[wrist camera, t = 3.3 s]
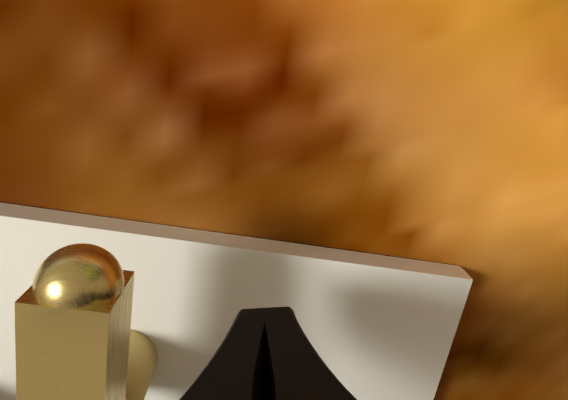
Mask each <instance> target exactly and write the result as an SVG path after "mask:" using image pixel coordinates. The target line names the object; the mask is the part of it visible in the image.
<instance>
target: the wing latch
mask: <svg viewBox="0 0 568 400" xmlns="http://www.w3.org/2000/svg"><path fill="white" fill-rule="evenodd" d="M134 273H135V271H128V270H123V269H122V267H121V265H120V263H119V262H118V260H117V259H116V258H115V257H114V256H113V255H112V254H111V253H110V252H109V251H107V250H106V249H104V248H102V247H99V246H97V245H93V244H85V243H78V244H72V245H68V246H65V247H62V248H60V249H58V250H56V251H55V252H53V253H52V254H50V255H49V256H48V257H47V258H46V259H45V260H44V261H43V262H42V263H41V265H40V266H39V268H38V270H37V272H36V274H35V277H34V281H33V285H32V286H30V287H29V288H28V289H27V290H26V291H25V292H24V293H23V294H22V295H21V296H20V297H19V298H18V299H17V300H16V301H15V353H16V400H128V399H127V398H126V384H127V370H128V357H129V343H130V329H131V315H132V301H133V287H134Z"/></svg>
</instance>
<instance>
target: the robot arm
mask: <svg viewBox="0 0 568 400" xmlns="http://www.w3.org/2000/svg"><path fill="white" fill-rule="evenodd" d="M179 400H357V399H356V398H355V397H354V396H353V395H352V394H351V393H350V392H349V391H348V390H347V389H346V388H345V387H344V386H343V384H342V383H341V382H340V381H339V380H338V379H337V378H336V376H335V375H334V374H333V373H332V372H331V370H330V369H329V368H328V367H327V365H326V364H325V363H324V361H323V360H322V359H321V357H320V356H319V355H318V353H317V352H316V350H315V349H314V347H313V346H312V345H311V343H310V342H309V340H308V338H307V337H306V335H305V334H304V332H303V330H302V328H301V327H300V325H299V323H298V321H297V319H296V316H295V314H294V311H293V310H292V309H291V308H290V307H289V306H288V307H269V308H251V309H241V310H240V311H239V312H238V314H237V316H236V318H235V320H234V322H233V324H232V326H231V328H230V330H229V332H228V333H227V335H226V337H225V338H224V340H223V342H222V343H221V345H220V346H219V348H218V349H217V351H216V353H215V354H214V356H213V357H212V359H211V360H210V361H209V363H208V364H207V366H206V367H205V368H204V370H203V371H202V372H201V374H200V375H199V376H198V378H197V379H196V380H195V382H194V383H193V384H192V385H191V386H190V388H189V389H188V390H187V391H186V392H185V394H184V395H183V396H182V397H181V398H180V399H179Z"/></svg>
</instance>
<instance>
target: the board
mask: <svg viewBox="0 0 568 400" xmlns="http://www.w3.org/2000/svg"><path fill="white" fill-rule="evenodd" d="M78 243H85V244H93V245H97V246H99V247H102V248H104V249H106V250H107V251H109V252H110V253H111V254H112V255H113V256H114V257H115V258H116V259H117V260H118V262H119V263H120V265H121V267H122V269H123V270H128V271H135V273H134V287H133V301H132V315H131V329H130V343H129V357H128V370H127V384H126V398H127V399H128V400H179V399H180V398H181V397H182V396H183V395H184V394H185V392H186V391H187V390H188V389H189V388H190V386H191V385H192V384H193V383H194V382H195V380H196V379H197V378H198V376H199V375H200V374H201V372H202V371H203V370H204V368H205V367H206V366H207V364H208V363H209V361H210V360H211V359H212V357H213V356H214V354H215V353H216V351H217V349H218V348H219V346H220V345H221V343H222V342H223V340H224V338H225V337H226V335H227V333H228V332H229V330H230V328H231V326H232V324H233V322H234V320H235V318H236V316H237V314H238V312H239V311H240V310H241V309H251V308H269V307H288V306H289V307H290V308H291V309H292V310H293V311H294V314H295V316H296V319H297V321H298V323H299V325H300V327H301V328H302V330H303V332H304V334H305V335H306V337H307V338H308V340H309V342H310V343H311V345H312V346H313V347H314V349H315V350H316V352H317V353H318V355H319V356H320V357H321V359H322V360H323V361H324V363H325V364H326V365H327V367H328V368H329V369H330V370H331V372H332V373H333V374H334V375H335V376H336V378H337V379H338V380H339V381H340V382H341V383H342V384H343V386H344V387H345V388H346V389H347V390H348V391H349V392H350V393H351V394H352V395H353V396H354V397H355V398H356V399H357V400H433V399H434V396H435V393H436V390H437V387H438V384H439V381H440V378H441V375H442V372H443V369H444V366H445V363H446V360H447V357H448V354H449V351H450V348H451V345H452V342H453V339H454V336H455V333H456V330H457V327H458V324H459V321H460V318H461V315H462V312H463V309H464V306H465V303H466V300H467V297H468V294H469V291H470V288H471V285H472V282H473V279H472V278H471V277H470V276H469V275H468V274H467V273H466V272H465V270H464V269H463V268H462V267H461V266H457V265H449V264H442V263H435V262H428V261H420V260H413V259H406V258H399V257H392V256H384V255H377V254H370V253H363V252H355V251H348V250H341V249H334V248H326V247H319V246H312V245H305V244H297V243H290V242H283V241H276V240H268V239H261V238H254V237H247V236H239V235H232V234H225V233H218V232H210V231H203V230H196V229H189V228H181V227H174V226H167V225H160V224H152V223H145V222H138V221H131V220H123V219H116V218H109V217H102V216H94V215H87V214H80V213H73V212H65V211H58V210H51V209H44V208H36V207H29V206H22V205H15V204H7V203H0V400H16V353H15V301H16V300H17V299H18V298H19V297H20V296H21V295H22V294H23V293H24V292H25V291H26V290H27V289H28V288H29V287H30V286H32V285H33V281H34V277H35V274H36V272H37V270H38V268H39V266H40V265H41V263H42V262H43V261H44V260H45V259H46V258H47V257H48V256H49V255H50V254H52V253H53V252H55V251H56V250H58V249H60V248H62V247H65V246H68V245H72V244H78Z"/></svg>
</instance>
